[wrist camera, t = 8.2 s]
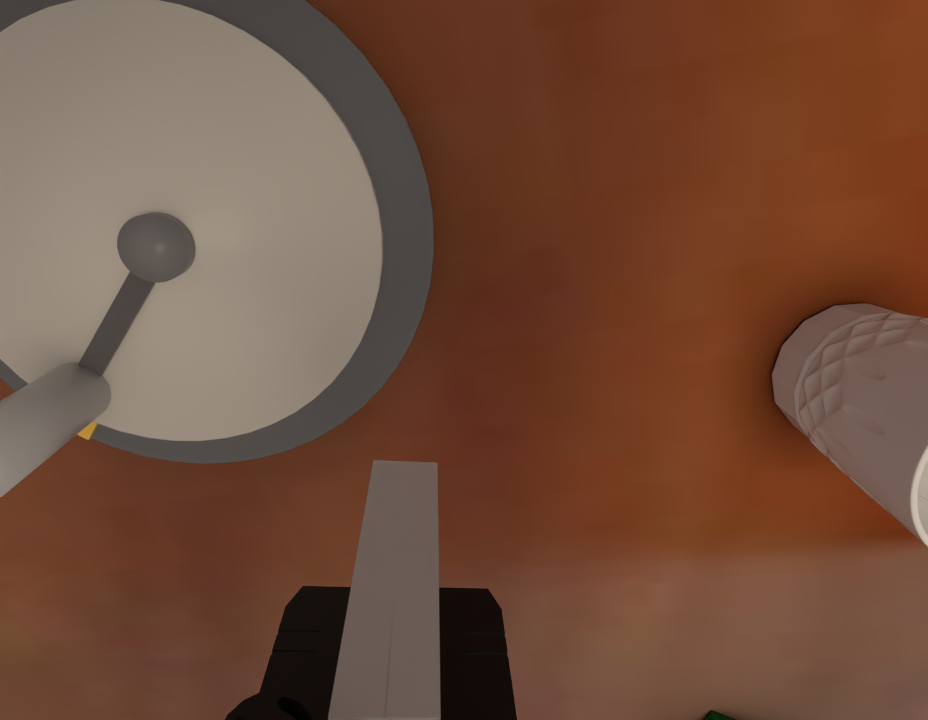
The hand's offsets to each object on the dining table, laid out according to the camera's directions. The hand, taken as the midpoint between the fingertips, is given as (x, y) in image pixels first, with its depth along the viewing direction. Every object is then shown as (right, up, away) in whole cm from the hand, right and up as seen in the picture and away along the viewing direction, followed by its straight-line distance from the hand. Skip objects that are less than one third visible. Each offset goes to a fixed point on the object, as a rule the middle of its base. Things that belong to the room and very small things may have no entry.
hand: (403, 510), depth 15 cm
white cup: (+20, +3, +15) cm, 25 cm away
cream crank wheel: (-10, +8, +9) cm, 16 cm away
